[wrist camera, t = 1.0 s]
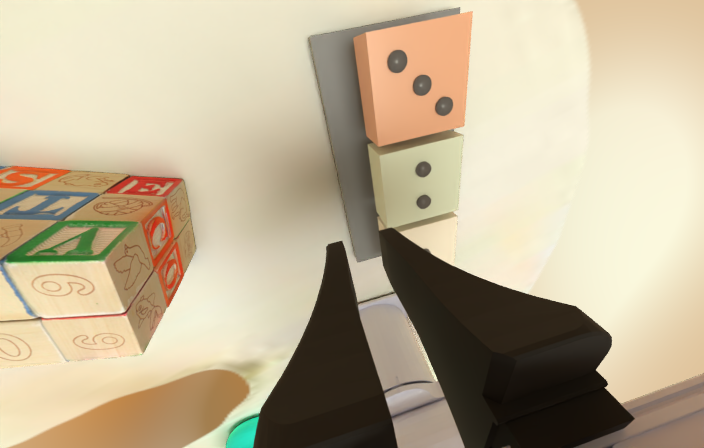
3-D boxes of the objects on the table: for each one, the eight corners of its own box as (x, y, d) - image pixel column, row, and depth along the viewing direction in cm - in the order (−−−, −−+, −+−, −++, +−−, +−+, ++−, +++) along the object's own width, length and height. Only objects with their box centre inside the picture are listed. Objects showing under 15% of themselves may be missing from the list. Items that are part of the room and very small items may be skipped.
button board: (442, 231, 25) (460, 249, 23) (355, 255, 24) (362, 277, 22) (451, 10, 16) (481, 0, 13) (308, 38, 15) (312, 32, 12)
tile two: (439, 194, 19) (459, 211, 17) (376, 211, 19) (388, 230, 17) (441, 126, 17) (465, 135, 14) (367, 144, 16) (380, 156, 14)
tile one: (438, 249, 22) (455, 270, 20) (383, 265, 22) (395, 288, 20) (439, 200, 20) (459, 217, 17) (377, 216, 19) (389, 236, 17)
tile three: (441, 118, 16) (466, 127, 14) (366, 136, 16) (379, 147, 14) (443, 19, 13) (475, 10, 11) (353, 37, 13) (367, 31, 11)
